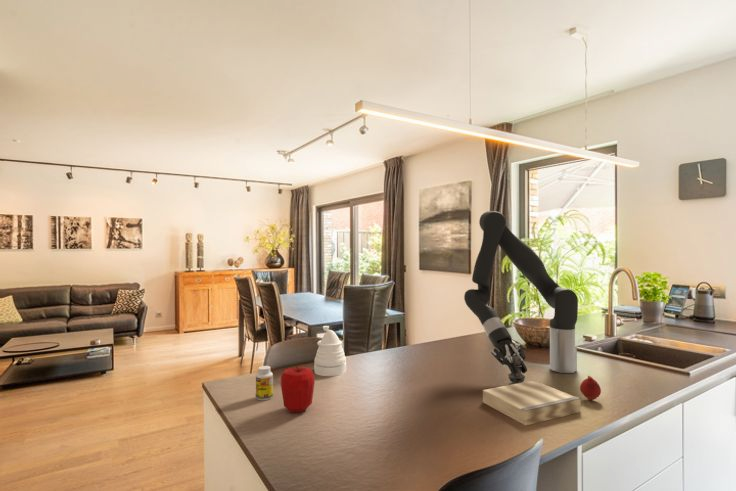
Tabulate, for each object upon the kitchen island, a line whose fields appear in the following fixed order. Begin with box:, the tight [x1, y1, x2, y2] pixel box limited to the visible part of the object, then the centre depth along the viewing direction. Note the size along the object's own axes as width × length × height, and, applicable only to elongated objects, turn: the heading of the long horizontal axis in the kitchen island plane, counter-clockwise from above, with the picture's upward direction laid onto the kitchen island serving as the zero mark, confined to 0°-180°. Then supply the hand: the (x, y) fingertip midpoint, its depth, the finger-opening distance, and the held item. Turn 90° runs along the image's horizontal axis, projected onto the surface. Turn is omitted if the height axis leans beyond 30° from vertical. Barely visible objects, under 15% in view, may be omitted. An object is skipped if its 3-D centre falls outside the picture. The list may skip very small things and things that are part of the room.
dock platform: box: [482, 379, 581, 426], centre depth 124 cm, size 22×18×4 cm
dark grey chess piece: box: [507, 352, 526, 385], centre depth 142 cm, size 6×6×12 cm
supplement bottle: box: [255, 365, 274, 401], centre depth 132 cm, size 6×6×10 cm
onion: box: [579, 375, 602, 402], centre depth 129 cm, size 6×6×8 cm
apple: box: [280, 366, 315, 413], centre depth 123 cm, size 10×10×14 cm
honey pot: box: [313, 325, 347, 377], centre depth 160 cm, size 13×13×18 cm
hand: (520, 372), depth 141 cm, fingers closed on dark grey chess piece, 3 cm apart
